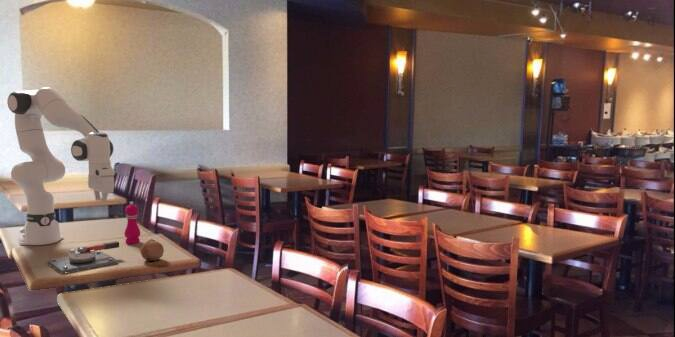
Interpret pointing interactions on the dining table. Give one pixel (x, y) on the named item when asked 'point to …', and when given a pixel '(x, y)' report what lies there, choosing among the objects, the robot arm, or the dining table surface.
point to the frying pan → (89, 252)
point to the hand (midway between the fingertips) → (101, 201)
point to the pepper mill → (132, 225)
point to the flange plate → (67, 266)
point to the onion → (152, 250)
